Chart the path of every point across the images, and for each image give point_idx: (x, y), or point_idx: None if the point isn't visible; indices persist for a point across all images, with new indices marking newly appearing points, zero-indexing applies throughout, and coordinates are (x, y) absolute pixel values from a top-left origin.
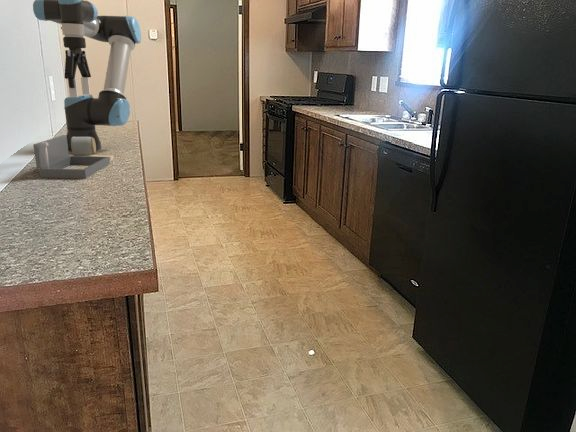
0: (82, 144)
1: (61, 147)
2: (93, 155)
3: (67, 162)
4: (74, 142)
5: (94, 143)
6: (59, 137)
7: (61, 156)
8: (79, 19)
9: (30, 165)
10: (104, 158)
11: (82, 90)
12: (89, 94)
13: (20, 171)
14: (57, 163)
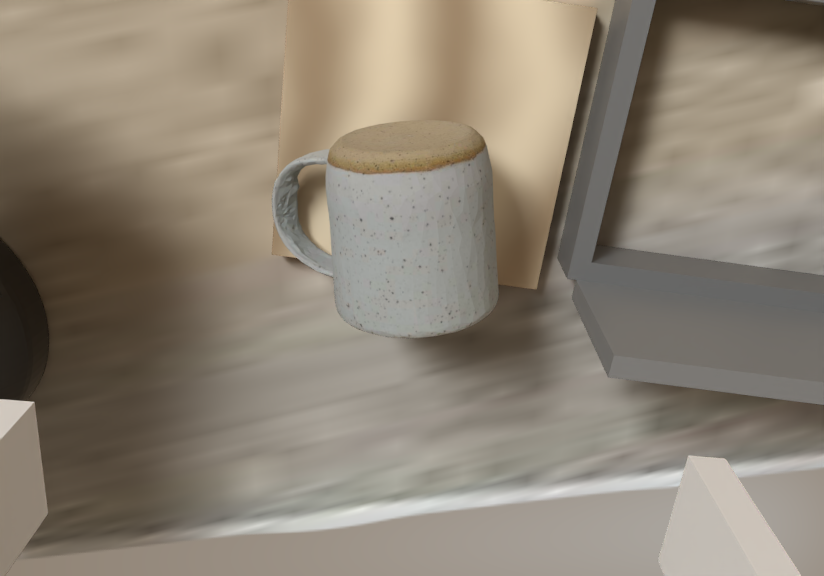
0: (492, 222)
1: (711, 330)
2: None
3: (652, 260)
4: (488, 290)
5: (378, 143)
6: (759, 372)
7: (704, 304)
8: None
9: (587, 462)
10: None
11: (7, 565)
12: (34, 406)
13: (763, 461)
14: (817, 290)
